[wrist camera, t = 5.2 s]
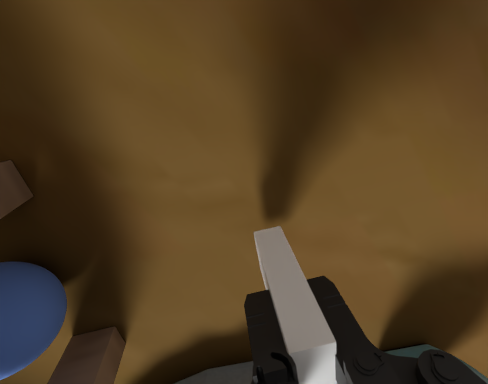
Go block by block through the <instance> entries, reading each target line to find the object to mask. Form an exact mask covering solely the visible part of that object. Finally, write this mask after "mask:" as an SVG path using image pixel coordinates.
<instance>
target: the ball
mask: <svg viewBox="0 0 488 384" xmlns="http://www.w3.org/2000/svg"><path fill="white" fill-rule="evenodd" d="M66 309H67V299H66V294H65V291H64V288H63V286H62V284H61V282H60V281H59V280H58V278H57V277H56V276H55V275H54V274H52V273H51V272H50V271H48V270H47V269H45V268H43V267H41V266H38V265H35V264H31V263H26V262H0V380H2V379H4V378H6V377H8V376H10V375H12V374H14V373H16V372H18V371H20V370H21V369H23V368H25V367H26V366H27V365H29V364H30V363H32V362H33V361H34V360H35V359H36V358H38V357H39V356H40V355H41V354H42V353H43V352H44V351H45V350H46V349H47V348H48V347H49V345H50V344H51V343H52V341H53V340H54V339H55V337H56V336H57V334H58V332H59V331H60V329H61V327H62V324H63V322H64V318H65V314H66Z"/></svg>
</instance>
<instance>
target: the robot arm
mask: <svg viewBox="0 0 488 384" xmlns="http://www.w3.org/2000/svg"><path fill="white" fill-rule="evenodd" d="M254 237H255V243H256V248H257V253H258V258H259V263H260V269H261V272H262V276H263V280H264V283H265V287H266V290H264V291H260V292H256V293H251V294H247V297H246V301H245V304H244V307H245V314H246V320H247V326H248V333H249V339H250V345H251V351H252V358H253V364H254V365H253V374H252V377H253V379H252V382H251V384H337V383H338V384H487V383H486V382H485V381H484V380H483V379H481V378H480V377H479V376H478V375H477V374H476V373H474V372H473V371H472V370H471V369H470V368H469V367H467V366H466V365H465V364H464V363H463V362H461V361H460V360H459V359H457V358H456V357H454V356H453V355H451V354H449V353H446V352H444V351H441V350H434V349H429V350H426V351H423V352H422V353H421V355H420V356H419V357H418V358H414V357H404V356H396V355H391V354H388V353H385V352H383V351H381V350H380V349H378V348H376V347H375V346H374V345H373V344H372V343H371V342H370V341H369V340H368V339H367V337H366V336H365V334H364V332H363V331H362V329H361V328H360V326H359V324H358V323H357V321H356V319H355V318H354V316H353V314H352V313H351V311H350V309H349V308H348V306H347V305H346V304H345V301H344V300H343V298H342V296H340V293H339V291H338V290H337V288H336V286H335V285H334V283H333V282H331V281H330V280H329V279H327V278H326V277H325V276H320V277H316V278H312V279H308V280H306V278H305V276H304V274H303V272H302V270H301V268H300V266H299V264H298V262H297V260H296V258H295V256H294V254H293V251H292V249H291V247H290V245H289V243H288V241H287V239H286V237H285V235H284V233H283V231H282V229H281V227H280V226H278V227H273V228H269V229H265V230H260V231H256V232H254Z"/></svg>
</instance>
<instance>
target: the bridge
mask: <svg viewBox="0 0 488 384" xmlns="http://www.w3.org/2000/svg"><path fill="white" fill-rule="evenodd" d="M32 197H33V194H32V193H31V191H30V189H29V188H28V186H27V185H26V183H25V181H24V180H23V178H22V177H21V175H20V173H19V172H18V170H17V169H16V167H15V165H14V164H13V162H12V161H11V160H8V161H3V162H0V219H1V218H2V217H4V216H5V215H7V214H8V213H10V212H11V211H13V210H14V209H16V208H17V207H18V206H20V205H21V204H23V203H24V202H26V201H27V200H29V199H30V198H32ZM125 345H126V343H125V342H124V340H123V338H122V337H121V335H120V334H119V332H118V330H117V329H116V327H115V326H114V327H110V328H106V329H102V330H97V331H93V332H89V333H85V334H80V335H76V336H72V338H71V340H70V342H69V343H68V345H67V347H66V349H65V351H64V353H63V355H62V357H61V359H60V361H59V363H58V365H57V366H56V368H55V370H54V372H53V374H52V376H51V378H50V380H49V382H48V384H114V381H115V377H116V374H117V371H118V368H119V364H120V361H121V358H122V354H123V351H124V348H125Z"/></svg>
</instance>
